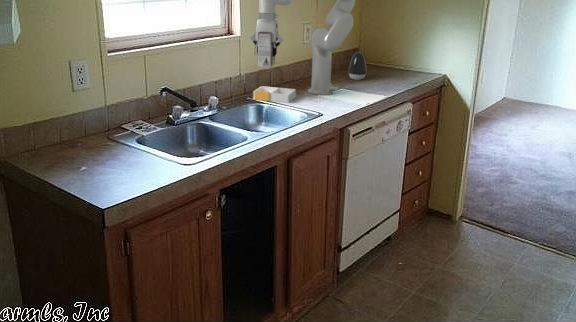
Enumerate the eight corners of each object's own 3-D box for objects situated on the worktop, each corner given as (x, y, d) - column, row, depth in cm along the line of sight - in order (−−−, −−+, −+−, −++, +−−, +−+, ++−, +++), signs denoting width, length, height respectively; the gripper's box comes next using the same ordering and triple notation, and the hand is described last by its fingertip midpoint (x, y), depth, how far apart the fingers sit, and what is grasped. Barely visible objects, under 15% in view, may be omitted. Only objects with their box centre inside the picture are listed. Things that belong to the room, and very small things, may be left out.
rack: (295, 96, 264) (296, 88, 262) (288, 103, 252) (288, 93, 251) (261, 93, 268) (261, 84, 267) (252, 99, 257) (252, 90, 255)
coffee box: (262, 63, 261) (262, 29, 255) (275, 64, 260) (275, 30, 254) (257, 67, 252) (257, 32, 247) (270, 67, 251) (271, 32, 246)
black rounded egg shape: (369, 78, 307) (371, 51, 302) (361, 81, 299) (363, 54, 294) (352, 76, 312) (354, 49, 307) (344, 79, 304) (346, 52, 299)
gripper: (287, 16, 249) (286, 55, 256) (252, 14, 254) (252, 53, 260) (282, 18, 242) (281, 58, 249) (246, 16, 247) (246, 55, 253)
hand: (266, 55), depth 254 cm, fingers closed on coffee box, 6 cm apart
